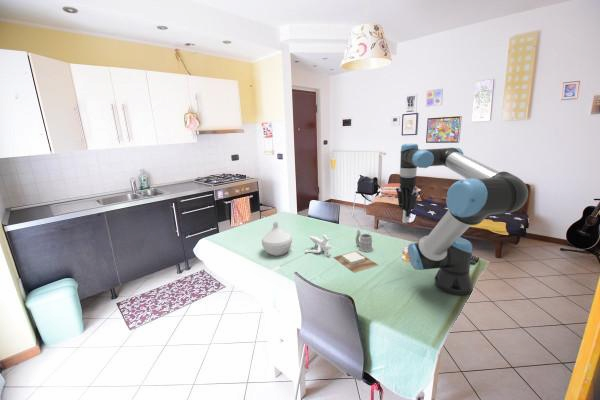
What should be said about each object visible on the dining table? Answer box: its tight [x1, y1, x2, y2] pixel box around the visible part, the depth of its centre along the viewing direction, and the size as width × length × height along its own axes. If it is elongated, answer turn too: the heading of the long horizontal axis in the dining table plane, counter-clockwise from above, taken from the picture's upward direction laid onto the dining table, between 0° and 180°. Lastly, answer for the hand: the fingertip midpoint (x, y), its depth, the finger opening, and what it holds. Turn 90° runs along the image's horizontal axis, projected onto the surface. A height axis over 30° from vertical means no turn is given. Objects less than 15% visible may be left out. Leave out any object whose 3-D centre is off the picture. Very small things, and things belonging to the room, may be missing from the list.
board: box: [332, 250, 379, 274], centre depth 152 cm, size 20×16×1 cm
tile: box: [341, 251, 365, 265], centre depth 153 cm, size 2×9×9 cm
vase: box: [261, 221, 293, 257], centre depth 168 cm, size 18×18×19 cm
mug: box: [355, 229, 373, 253], centre depth 166 cm, size 8×12×12 cm, turn 35°
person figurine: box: [304, 234, 332, 257], centre depth 167 cm, size 13×13×18 cm
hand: (405, 222), depth 141 cm, fingers closed
